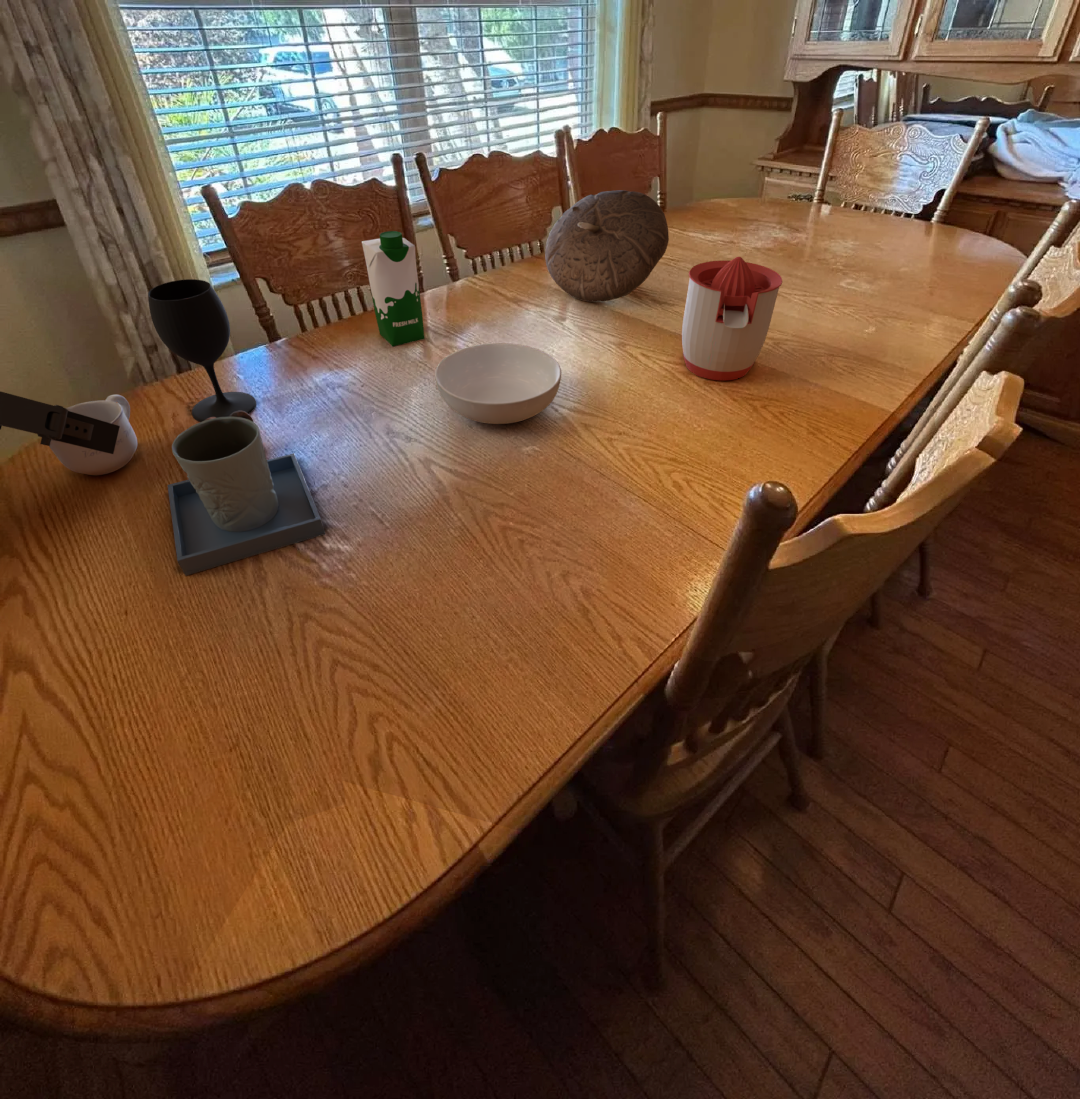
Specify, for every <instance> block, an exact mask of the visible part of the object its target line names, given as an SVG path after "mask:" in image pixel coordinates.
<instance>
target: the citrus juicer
mask: <svg viewBox="0 0 1080 1099" xmlns="http://www.w3.org/2000/svg"><path fill="white" fill-rule="evenodd" d="M688 278H689V279H688V280H689V281H688V287H687V292H686V300H685V306H684V312H683V318H682V327H681V328H682V329H681V345H682V355H683V360H684V364H685V367H686V368H687V370H688V371H690V372H691V373H693V374H694V375H695V376H696V375H697V376H696V377H698V376H699V378H704V379H707V380H714V381H733V380H738V378H739V379H741V378H743V377H744V376H746V375H747V374H748V373H749V371H751V369H752V367H753V366H754V364H755V362H756V360H757V358H758V356H759V355H760V353H761V350H762V349H763V346H764V344H765V342H766V339H767V335H768V333H769V329H770V326H771V323H772V322H771V321H772V317H773V314H774V309H775V306H776V302H777V298H778V294H779V290H780V287H781V286H782V284H783V278H782V276H781V275H780V274H779V273H778V272H777V271H775V270H773V269H771V268H770V267H767V266H764V265H761V264H757V263H752V262H748V261H745V260H744V259H743V257H742V256H735V257H734V258H733V259H731V260H711V261H705V262H700V263H699V264H696V265H694V266H693V267H691V268H690V270H689V271H688Z"/></svg>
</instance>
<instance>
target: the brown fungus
mask: <svg viewBox="0 0 1080 1099" xmlns="http://www.w3.org/2000/svg"><path fill="white" fill-rule="evenodd" d="M669 240H670V236H669V226H668V221H667V218H666V215H665V212H664V211H663V208H662V207H661V206H660V205H659V204H658V203H657V201H655V200H654V199H653V198H652V197H651V196H648V195H647V194H646V193H645V194H644V193H643V192H639V191H635V190H634V191H630V190H623V189H622V190H620V189H619V190H615V189H614V190H606V191H600V192H598V193H597V194H587V195H586V196H584V197H583V198H581V199H580V200H578V201H577V202H575V203H574V204H572V206H570V208H568V209H567V210H564V212H563V213H562V215H561V217H559V218H558V219H557V220H556V222H555V223H554V225H553V226H552V228H551V230H550V231H549V234H548V236H547V239H546V243H545V249H544V250H545V253H544V259H545V264H546V265H545V266H546V269H547V271H548V273H549V275H550V277H551V278H552V280H553V281H554V283H555V284H556V285H557V286H558V287H559V288H560V289H561V290H562V291H564V292H565V293H566V294H567V295H569V296H570V297H572V298H575V299H577V300H579V301H584V302H592V303H596V302H601V303H602V302H608V301H612V300H617V299H621V298H623V297H625V296H627V295H629V294H630V293H632V292H633V291H634V290H636V289H637V288H638V287H640V286H641V285H642V284H643V283H644V282H645V280H647V279H648V277H650V275H651V274H652V272H653V270H654V269H655V267H656V266H657V265H658V263H659V262H660V260H661V259H662V258H663V257H664V255H665V254H666V252H667V248H668V245H669V242H670V241H669Z"/></svg>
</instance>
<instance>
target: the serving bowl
mask: <svg viewBox="0 0 1080 1099" xmlns="http://www.w3.org/2000/svg"><path fill="white" fill-rule="evenodd" d="M434 381H435V384H436V387H437V391H438V393H439V395H440V397H441V398H442V400H443V401H444V403H445V404H446V405H447V406H448V407H449V408H450V409H451V410H452V411H454V412H455V413H456V414H458V415H459V416H462V417H463V418H465V419H468V420H471V421H475V422H477V423H482V424H488V425H489V424H490V425H505V424H513V423H518V422H521V421H525V420H528V419H530V418H533V417H535V416H537V415H538V414H540V413H542V412H543V411H544V410H545V409H547V408H548V407H549V406H550V404H551V403H552V402H553V400H554V399H555V398H556V396H557V394H558V391H559V388H560V384H561V381H562V368H561V365H560V364H559V362H558V361H557V360H556V359H555V358H554V357H553V356H552V355H551V354H549V353H548V352H546V351H544V350H542V349H539V348H536V347H533V346H530V345H525V344H521V343H520V344H519V343H512V342H489V343H480V344H475V345H470V346H467V347H463V348H461V349H457V350H456V351H454V352H451V353H450V354H448V355H446V356H445V357H444V358H442V359H441V360H440V362H438V364H437V366H436V367H435V370H434Z"/></svg>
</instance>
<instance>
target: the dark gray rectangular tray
mask: <svg viewBox="0 0 1080 1099" xmlns="http://www.w3.org/2000/svg"><path fill="white" fill-rule="evenodd" d="M296 456H297V455H295V452H294V453H293V452H292V453H289V454H285V455H281V456H277V457H272V458H269V459H267V463H268V467H269V470H270V473H271V475H270V476H271V477H272V482H273V485H274V486H273V489H274V491H275V492H276V496H277V499H278V504H279V506H278V511H277V513H276V515H275V516H274V517H273V518H272V519H271V520H270V521H269V522H267V523H266V524H264V525H262V526H260V527H258V528H255V529H252V530H248V531H243V532H229V531H225V530H222V529H220V528H219V527H217V526H216V525H215V523H214V522H213V520H212V519H211V517H210V515H209V513H208V512H207V510H206V508H205V507H204V504H203V502H202V500H201V499H200V497H199V495H198V493H197V492H196V489H194V487H193V486H192V484H191V482H190V481H189V479H185V480H180V481H178V482H174V483H170V484H167V492H168V499H169V500H168V501H169V507H170V516H171V522H172V529H173V531H172V532H173V538H174V546H175V553H176V560H177V564H178V565H179V566H180V568H181V570H182V572H183V574H184V576H190V575H194V574H197V573H199V572H203V571H207V570H211V569H213V568H216V567H220V566H224V565H227V564H230V563H233V562H237V561H241V560H244V559H247V558H251V557H254V556H256V555H257V556H258V555H260V554H263V553H266V552H270V551H273V550H277V549H280V548H284V547H287V546H290V545H294V544H297V543H300V542H304V541H307V540H311V539H314V538H317V537H320V536H324V535H326V532H325V531H326V530H325V528H324V524H323V521H322V518H321V515H320V513H319V511H318V508H317V506H316V504H315V501H314V498H313V495H312V494H311V491H310V489H309V485H308V483H307V481H306V479H305V476H304V474H303V471H302V468H301V466H300V464H299V462H298V459H297V457H296Z"/></svg>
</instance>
